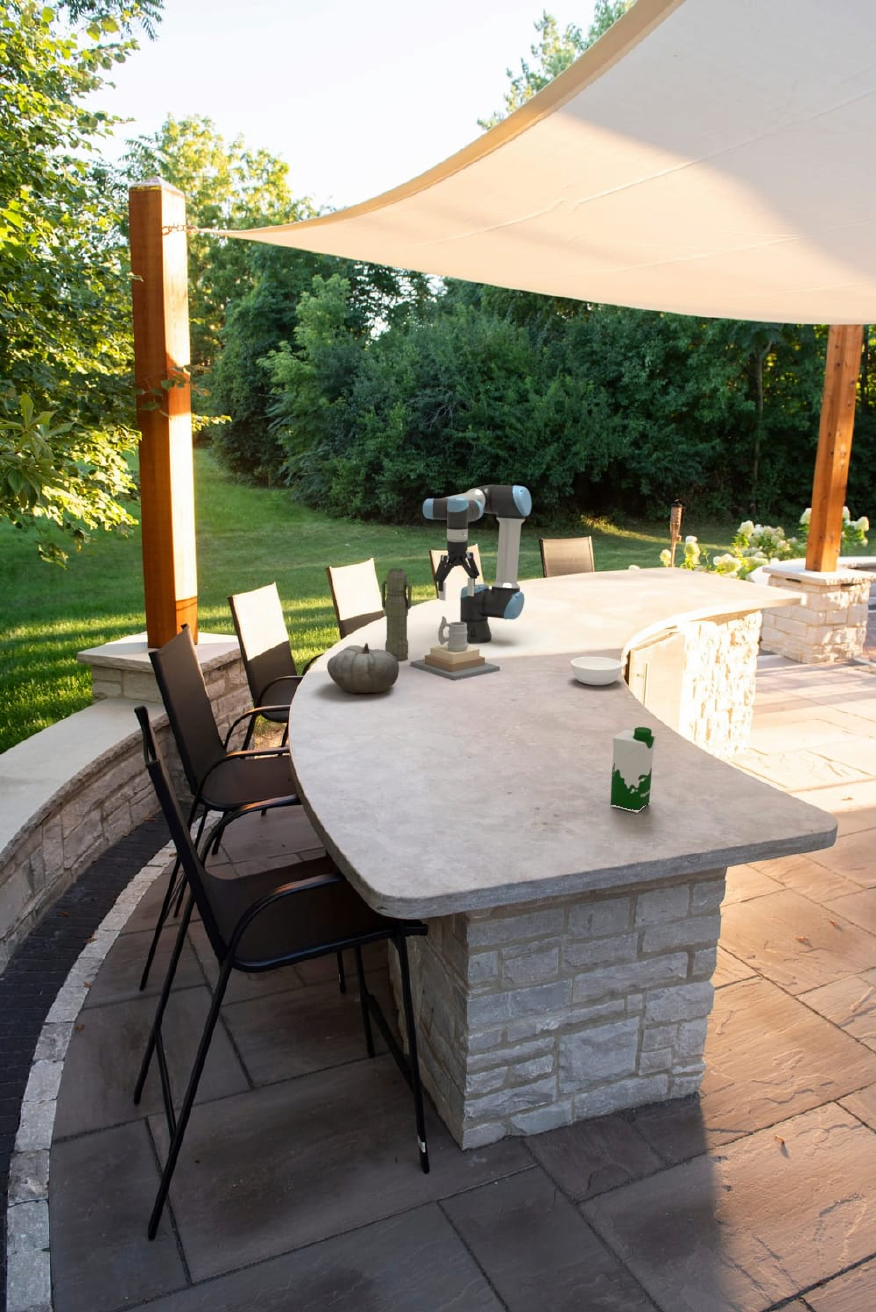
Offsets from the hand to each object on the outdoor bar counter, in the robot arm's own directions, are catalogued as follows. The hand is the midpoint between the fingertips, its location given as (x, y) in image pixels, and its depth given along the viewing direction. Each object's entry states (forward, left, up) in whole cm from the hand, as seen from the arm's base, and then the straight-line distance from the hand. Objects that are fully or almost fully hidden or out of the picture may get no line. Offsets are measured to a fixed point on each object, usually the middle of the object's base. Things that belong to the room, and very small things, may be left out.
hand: (456, 597), depth 347 cm
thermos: (-24, -10, -27) cm, 37 cm away
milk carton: (+124, -50, -27) cm, 136 cm away
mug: (0, -2, -19) cm, 19 cm away
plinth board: (0, -1, -27) cm, 27 cm away
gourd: (+2, -44, -27) cm, 51 cm away
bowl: (+46, +27, -27) cm, 59 cm away
